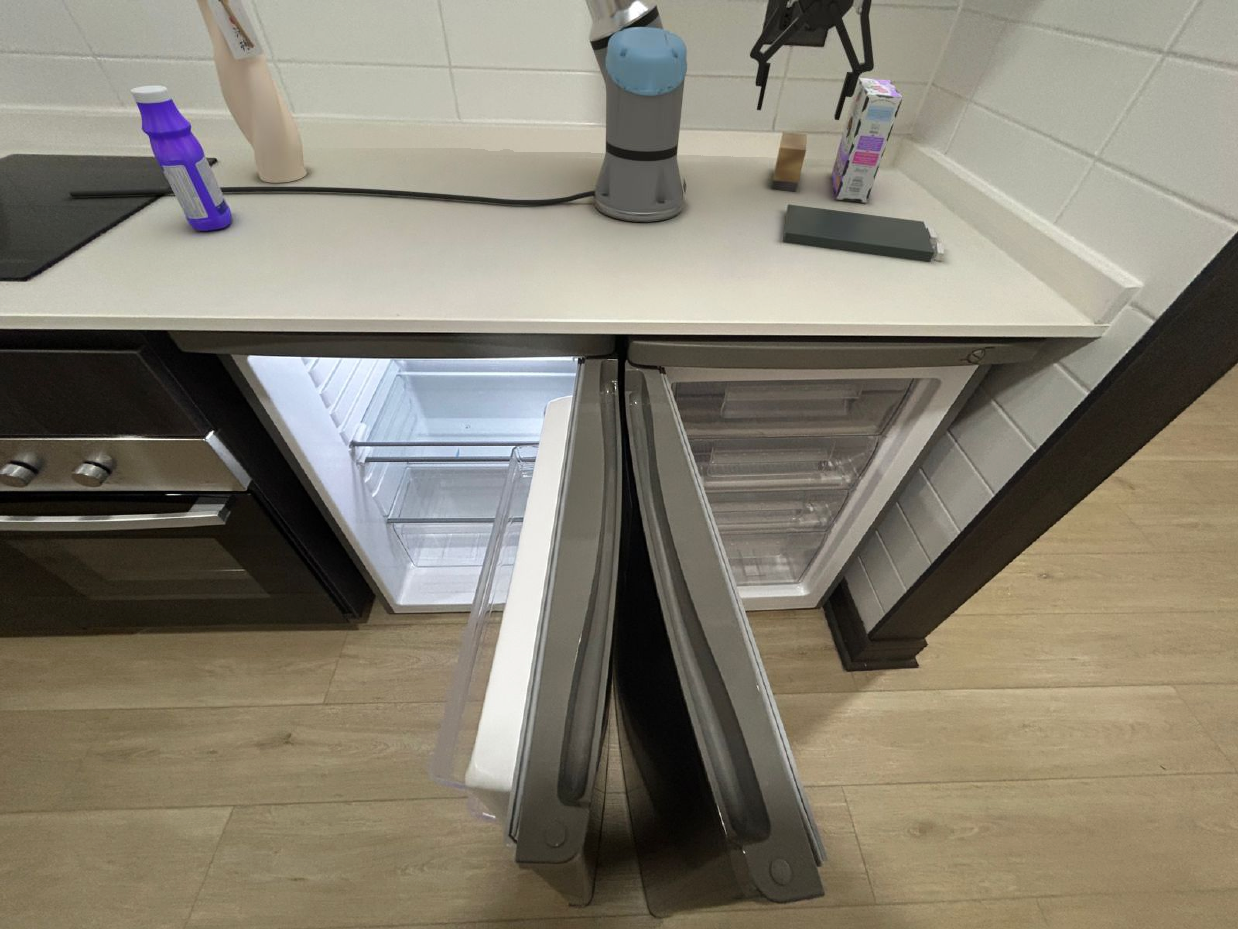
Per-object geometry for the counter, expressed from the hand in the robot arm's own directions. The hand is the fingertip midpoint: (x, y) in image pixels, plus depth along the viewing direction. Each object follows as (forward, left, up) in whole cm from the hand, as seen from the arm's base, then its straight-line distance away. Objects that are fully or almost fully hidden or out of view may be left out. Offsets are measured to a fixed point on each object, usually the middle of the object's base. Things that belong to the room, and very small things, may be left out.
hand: (797, 113), depth 98 cm
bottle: (-84, -50, -11) cm, 98 cm away
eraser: (+1, 0, -11) cm, 11 cm away
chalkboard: (+12, -22, -11) cm, 28 cm away
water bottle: (-87, -29, -11) cm, 92 cm away
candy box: (+12, 0, -11) cm, 17 cm away
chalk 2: (+24, -25, -11) cm, 36 cm away
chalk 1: (+24, -19, -11) cm, 32 cm away
